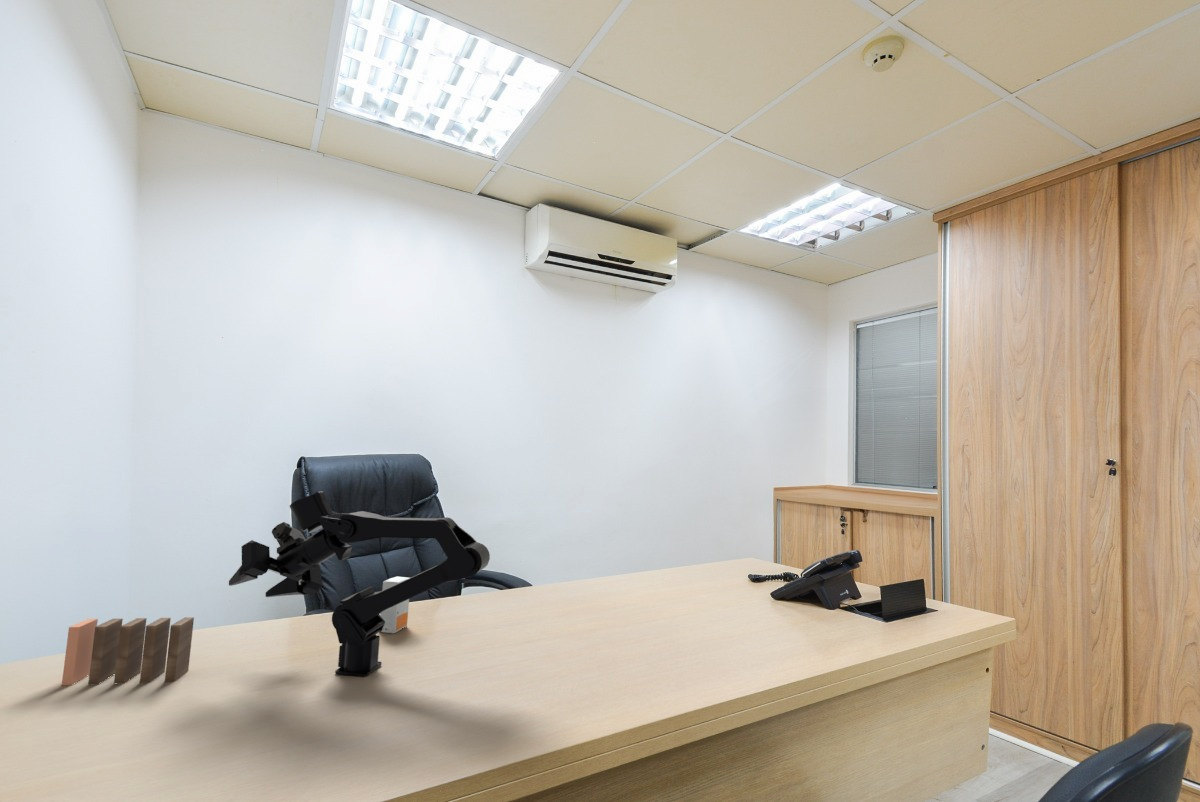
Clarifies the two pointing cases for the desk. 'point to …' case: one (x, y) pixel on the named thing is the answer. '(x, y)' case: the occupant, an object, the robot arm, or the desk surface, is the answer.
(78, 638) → the domino
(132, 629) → the domino
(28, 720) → the desk surface
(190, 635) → the domino
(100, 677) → the domino
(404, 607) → the skincare box
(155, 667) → the domino
